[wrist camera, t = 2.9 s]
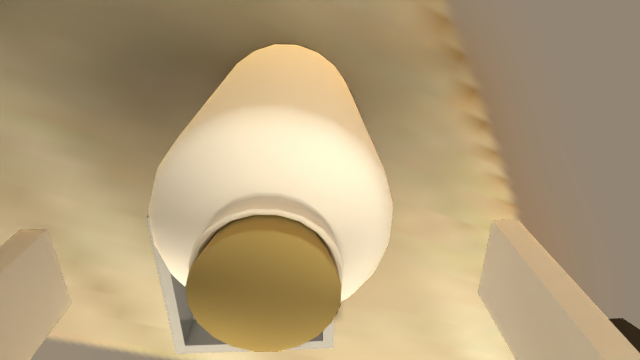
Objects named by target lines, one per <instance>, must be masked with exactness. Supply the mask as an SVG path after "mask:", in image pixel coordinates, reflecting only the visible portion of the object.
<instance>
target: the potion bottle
mask: <svg viewBox="0 0 640 360" xmlns="http://www.w3.org/2000/svg"><path fill="white" fill-rule="evenodd" d="M148 214H149V219H150V225H151V231H152V236H153V242H154V245H155V247H156V248H157V250H158V252H159V254H160V255H161V257H162V259H163V261H164V262H165V264H166V266H167V268H168V269H169V271H170V273H171V274H172V275H173V276H174V277H175V278H176V279H177V280H178V281H179V282H180V283H181V284H182V285H183V286H185V289H186V296H187V303H188V307H189V309H190V310H191V312H192V314H193V316H194V317H195V319H196V321H197V323H198V324H199V325H201V326H202V327H203V328H204V329H205V330H206V331H207V332H208V333H209V334H211V335H212V336H213V337H214V338H216V339H218V340H220V341H222V342H224V343H226V344H228V345H230V346H232V347H236V348H240V349H245V350H249V351H254V352H278V351H282V350H286V349H290V348H294V347H298V346H300V345H302V344H304V343H306V342H308V341H310V340H312V339H313V338H315V337H317V336H318V335H319V334H320V333H321V332H323V331H324V330H325V329H326V328H327V327H328V326H329V325H330V324H331V323H332V321H333V319H334V317H335V315H336V313H337V311H338V309H339V307H340V304H341V301H343V300H345V299H347V298H348V297H349V296H351V295H352V294H353V293H354V292H355V291H356V290H357V289H358V288H359V287H360V286H361V285H362V284H363V283H364V282H365V281H366V280H367V279H368V278H369V277H370V276H371V275H372V274H373V273H374V272H375V270H376V269H377V267H378V265H379V263H380V261H381V259H382V257H383V255H384V253H385V251H386V249H387V247H388V245H389V239H390V231H391V223H392V215H393V202H392V198H391V194H390V190H389V186H388V182H387V178H386V173H385V170H384V168H383V166H382V163H381V161H380V159H379V157H378V154H377V152H376V150H375V147H374V145H373V143H372V141H371V138H370V136H369V134H368V132H367V129H366V127H365V125H364V122H363V120H362V118H361V116H360V113H359V111H358V109H357V107H356V104H355V102H354V100H353V98H352V95H351V93H350V91H349V88H348V86H347V84H346V82H345V81H344V79H343V78H342V76H341V75H340V73H339V72H338V70H337V69H336V67H335V66H334V65H333V64H332V63H330V62H329V61H328V60H327V59H325V58H324V57H323V56H322V55H320V54H319V53H318V52H315V51H312V50H310V49H307V48H304V47H301V46H299V45H282V44H274V45H271V46H268V47H265V48H262V49H258V50H255V51H253V52H252V53H251V54H249V55H248V56H246V57H245V58H244V59H242V60H241V61H240V62H238V63H237V64H236V65H235V67H234V68H233V69H232V70H231V72H230V73H229V74H228V75H227V77H226V78H225V79H224V80H223V82H222V83H221V84H220V85H219V87H218V88H217V89H216V90H215V92H214V93H213V94H212V95H211V97H210V98H209V99H208V100H207V102H206V103H205V104H204V105H203V106H202V108H201V109H200V110H199V111H198V113H197V114H196V115H195V116H194V118H193V119H192V120H191V121H190V123H189V124H188V125H187V126H186V128H185V129H184V130H183V131H182V133H181V134H180V135H179V136H178V138H177V139H176V141H175V142H174V144H173V145H172V147H171V148H170V150H169V151H168V153H167V154H166V156H165V157H164V159H163V160H162V162H161V163H160V165H159V166H158V168H157V171H156V175H155V180H154V185H153V189H152V194H151V199H150V204H149V209H148Z"/></svg>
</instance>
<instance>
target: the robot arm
mask: <svg viewBox="0 0 640 360" xmlns="http://www.w3.org/2000/svg"><path fill="white" fill-rule="evenodd" d="M478 294H479V296H480V297H481V299H482V301H483V303H484V304H485V306H486V308H487V310H488V312H489V313H490V315H491V317H492V319H493V320H494V322H495V324H496V326H497V327H498V329H499V331H500V333H501V334H502V336H503V338H504V340H505V342H506V343H507V345H508V347H509V349H510V350H511V352H512V354H513V356H514V357H515V359H516V360H640V329H638V328H637V327H635V326H633V325H632V324H630V323H629V322H627V321H626V320H624V319H623V318H621V319H620V318H618V319H608V318H607V317H606V316H605V315H604V314H603V313H602V312H601V310H600V309H599V308H598V307H597V306H596V305H595V304H594V303H593V302H592V301H591V299H590V298H589V297H588V296H587V295H586V294H585V293H584V292H583V291H582V290H581V289H580V288H579V286H578V285H577V284H576V283H575V282H574V281H573V280H572V279H571V278H570V276H569V275H568V274H567V273H566V272H565V271H564V270H563V269H562V268H561V267H560V265H559V264H558V263H557V262H556V261H555V260H554V259H553V258H552V257H551V256H550V255H549V253H548V252H547V251H546V250H545V249H544V248H543V247H542V246H541V245H540V244H539V243H538V241H537V240H536V239H535V238H534V237H533V236H532V235H531V234H530V233H529V232H528V231H527V229H526V228H525V227H524V226H523V225H522V224H521V223H520V222H519V221H518V220H517V219H516V220H492V224H491V229H490V234H489V239H488V244H487V249H486V254H485V259H484V264H483V269H482V274H481V279H480V284H479V289H478ZM70 305H71V300H70V297H69V294H68V291H67V288H66V285H65V282H64V279H63V276H62V273H61V270H60V267H59V264H58V261H57V258H56V255H55V252H54V249H53V246H52V243H51V240H50V237H49V234H48V231H47V229H40V230H19V231H18V232H17V233H16V234H15V235H14V236H12V237H11V238H10V239H9V240H8V241H7V242H5V243H4V244H3V245H2V246H1V247H0V360H30V359H31V357H32V356H33V355H34V353H35V352H36V351H37V349H38V348H39V347H40V345H41V344H42V343H43V341H44V340H45V339H46V337H47V336H48V334H49V333H50V332H51V330H52V329H53V328H54V326H55V325H56V324H57V322H58V321H59V320H60V318H61V317H62V315H63V314H64V313H65V311H66V310H67V309H68V307H69V306H70Z"/></svg>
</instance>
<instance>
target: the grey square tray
mask: <svg viewBox="0 0 640 360" xmlns="http://www.w3.org/2000/svg"><path fill="white" fill-rule="evenodd" d="M147 223H148V227H149V232H150V237H151V241H152V246H153V250H154V255H155V260H156V264H157V269H158V274H159V278H160V283H161V287H162V292H163V297H164V301H165V306H166V311H167V315H168V320H169V324H170V329H171V334H172V338H173V343H174V348H175V352H176V354H185V353H214V352H243V351H249V350H245V349H240V348H236V347H232V346H230V345H228V344H226V343H224V342H222V341H220V340H218V339H216V338H214V337H213V336H212V335H211V334H209V333H208V332H207V331H206V330H205V329H204V328H203V327H202V326H201V325H199V324H198V323H197V321H196V319H195V317H194V316H193V314H192V312H191V310H190V309H189V307H188V303H187V296H186V289H185V286H183V285H182V284H181V283H180V282H179V281H178V280H177V279H176V278H175V277H174V276H173V275H172V274H171V273H170V271H169V269H168V268H167V266H166V264H165V262H164V261H163V259H162V257H161V255H160V254H159V252H158V250H157V248H156V247H155V245H154V242H153V236H152V231H151V225H150V219H149V215H148V216H147ZM330 348H334V319H333V321H332V323H331V324H330V325H329V326H328V327H327V328H326V329H325V330H324V331H323V332H321V333H320V334H319V335H318V336H317V337H315V338H313V339H312V340H310V341H308V342H306V343H304V344H302V345H300V346H298V347H294V348H290V349H286V350H301V349H330Z"/></svg>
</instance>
